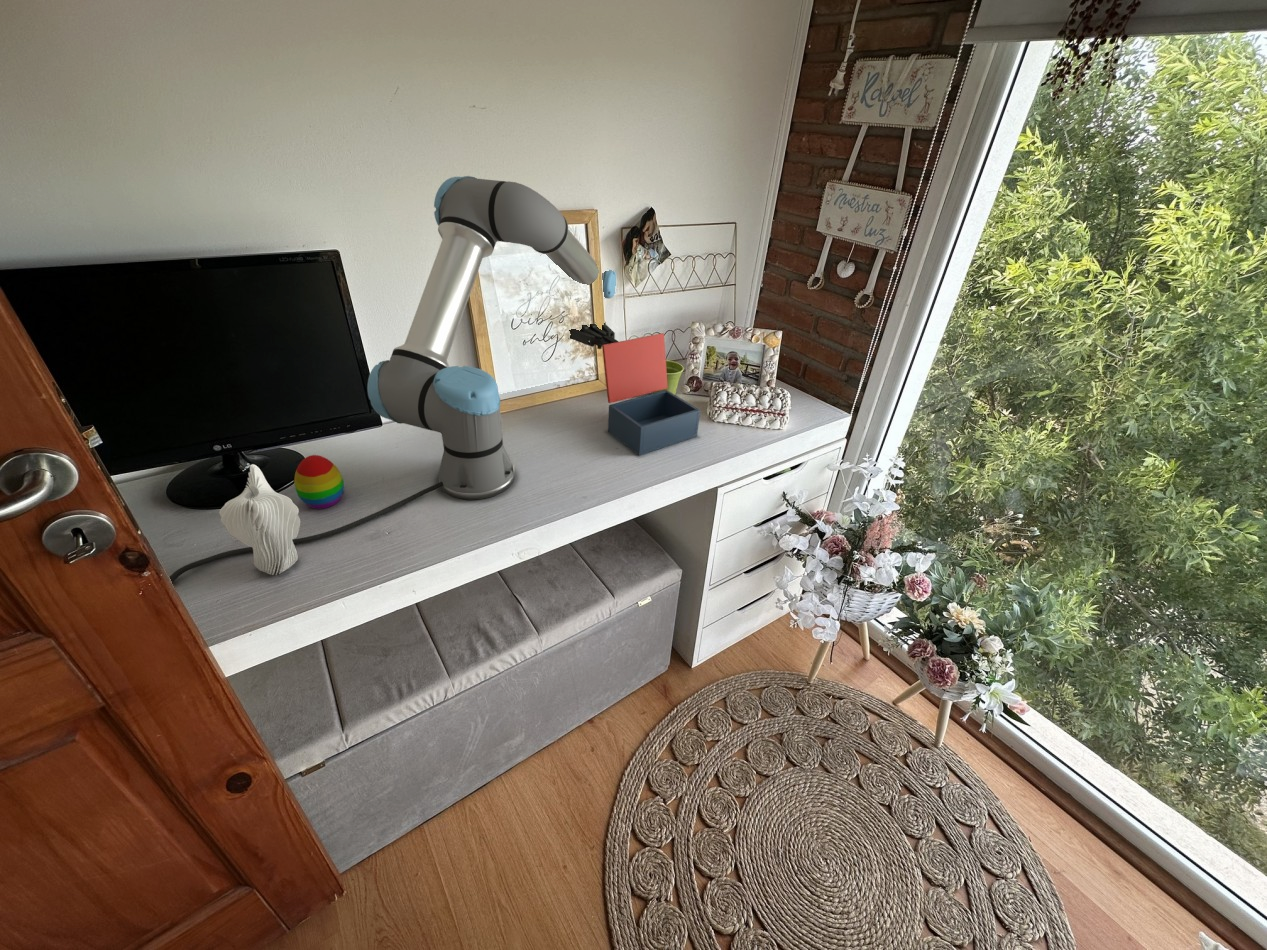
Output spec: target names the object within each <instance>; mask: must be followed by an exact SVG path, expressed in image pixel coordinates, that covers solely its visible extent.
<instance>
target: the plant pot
mask: <svg viewBox="0 0 1267 950" xmlns="http://www.w3.org/2000/svg"><path fill="white" fill-rule="evenodd" d="M684 370H685V367H684V366H683V365H682V364H681V363H679V362H677V361H673V360H668V359H666V371H667V386H668V388H667V389H663V390H659V391H655V392H652V394H653V393H657V392H660V391H664V390H668V391H669V392H671V393H673V394H674V395H676V393H677V388H678V385H679V381H680V378H681V376H682V373H683V372H684Z"/></svg>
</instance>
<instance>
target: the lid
mask: <svg viewBox="0 0 1267 950" xmlns="http://www.w3.org/2000/svg"><path fill="white" fill-rule="evenodd" d="M601 350H602V359H603V368H604V376H605V377H604V379H605V387H606V396H607V403H608V404H614V403H618V402H622V401H626V400H629V399H633V398H637V397H641V396H645V395H649V394H652V393H653V392H655V391H659V390H663V389H667V388H668V386H667V371H666V360H667V358H666V356H667V355H666V342H665V333H663V332H661V333H656V334H650V335H646V336H641V337H636V338H631V339H626V340H619V342H615V343H610V344H605V345H602V349H601Z"/></svg>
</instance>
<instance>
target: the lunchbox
mask: <svg viewBox="0 0 1267 950" xmlns="http://www.w3.org/2000/svg"><path fill="white" fill-rule="evenodd" d="M700 417H701V409H699V408H698V407H695V406H694V405H692V404H691V403H689V402H688V401H686V400H684V399H683V398H681V397H680V396H678V395H676V394H675V395H674V394H673V393H671V392H669V391H668V390H664V391H660V392H657V393H653V392H652V393H648V394H644V395H640V396H637V397H633V398H629V399H625V400H621V401H618V402H614V403H610V404H608V423H607V425H608V426H607V432H608V433H609V434H610V435H612V436H613V437H614V438H616V439H617V440H618V441H619V442H621V443H622V444H623V445H625V446H626V447H627V448H629V450H631V451H632V452H634V453H635V454H636V455H638V456H642V455H645V454H648V453H651V452H655V451H657V450H658V451H659V450H660V449H664V448H668V447H670V446H673V445H676V444H679V443H682V442H685V441H688V440H691V439H694V438H697V437H698V431H699V424H700Z"/></svg>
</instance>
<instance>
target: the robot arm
mask: <svg viewBox="0 0 1267 950" xmlns="http://www.w3.org/2000/svg"><path fill="white" fill-rule="evenodd" d="M433 208H435V211H434V212H433V215H434V219H435V223H436V225H437V226H438V227H437V232H438V234H439V236H440V238H441V242H440V244H439V248H438V251H437V253H436V255H435V259H434V261H433V264H432V267H431V270H430V273H429V276H428V278H427V280H426V283H425V286H424V289H423V292H422V294H421V297H420V300H419V303H418V305H417V308H416V310H415V314H414V316H413V319H412V322H411V325H410V328H409V331H408V333H407V336H406V339H405V342H404V344H401V345H399V346H397V347H394V348H393V350H392V353H391V355H390V358H389V359H386V360H382V361H379V362H378V364H375V365H374V366H373V368H371V371H370V373H369V375H368V379H367V385H366V386H367V387H366V388H367V397H368V400H370V405H371V407H372V409H373V410H374V411H375V412H376V414H378V416H380V417H381V418H384V419H387V420H389V421H392V422H394V423H397V424H404V425H408V426H413V427H416V428H419V429H424V430H429V431H431V432H437V433H439V434H441V439H442V446H443V451H442V456H441V461H440V465H439V470H438V482H437V483H435V484H432V485H431V486H429V487H426V488H424V489H422V490H420V491H418V492H417V493H414V494H412V495H410V496H408V497H406V498H404V499H402V500H399V501H397V502H396V503H393V504H392V505H389V506H387V507H385V508H383V509H380V510H379V511H376V512H373V513H372V514H369V515H367V516H364V517H362V518H360V519H357V520H355V521H353V522H351V523H347V524H345V525H343V526H340V527H337V528H334V529H331V530H328V531H325V532H322V533H318V534H314V535H309V536H303V537H298V538H295V539H292V541H293V544H294V545H300V544H304V543H311V542H314V541H317V540H322V539H325V538H329V537H332V536H335V535H338V534H340V533H344V532H346V531H348V530H352V529H353V528H356V527H358V526H360V525H363V524H365V523H367V522H370V521H372V520H374V519H375V520H376V518H379V517H381V516H383V515H386V514H387V513H390V512H392V511H394V510H396V509H398V508H400V507H402V506H404V505H406V504H408V503H411V502H412V501H414V500H417V499H419V498H421V497H423V496H424V495H427V494H428V493H431V492H433V491H435V490H437V489H439V488H441V490H442V492H444V493H445V494H447V495H449V496H451V497H454V498H457V499H462V500H483V499H488V498H492V497H495V496H497V495H500V494H501V493H504V492H505V491H506V490H508V489H509V488H510V487H511V486H512V485H513V483H514V482H515V481H514V480H515V473H516V472H515V464H514V461H513V460H511V458H510V456H509V454H508V452H507V450H506V448H505V445H504V440H503V427H502V413H501V412H502V411H501V404H502V403H501V401H502V400H501V396H500V392H499V386H498V383H497V381H496V379H495V378H494V377H493V376H492V375H491V374H490V373H488V372H487V371H485V370H484V369H480V368H478V367H477V368H476V367H474V366H469V365H468V366H467V365H463V366H458V365H453V366H450V365H449V362H448V358H449V355H450V353H451V350H452V347H453V344H454V341H455V339H456V335H457V333H458V330H459V328H460V327H459V326H460V324H461V322H462V318H463V315H464V313H465V310H466V307H467V304H468V302H469V298H470V295H471V293H472V289H473V286H474V283H475V281H476V278H477V275H478V272H479V269H480V267H481V264H482V261H483V259H485V258H488V257H490V256H492V254H493V252H494V249H495V247H496V244H497V242H500V243H501V242H502V243H510V244H518V245H523V246H526V247H530V248H532V249H533V250H534V251H535V252H536V253H538V254H541V255H542V254H546V255H547V256H548V257H549V258H550V259H551V260H552V261H553V262H554V263H555V264H556V265H558V266H559V267H560V268H561V269H562V270H563V271H564V272H565V273H566V274H567V275H568V276H569V277H571V278H572V279H573V280H575V281H577V282H579V283H582V284H587V285H590V284H591V283H593V282H594V281H595V280H596V279H597V277H598V273H599V270H598V267H597V264H596V262H597V261H596V260H595V259H594V258H593V256H592V255H591V254H590V253H589V252H588V250H587V249H586V248H585V247H584V246H583V244H582V243H581V242H580V241H579V239H578V238H577V236H575V235H574V234H573V233H572V232H571V230H570V229H569V224H568V221H567V219H566V217H565V216H564V214H562V212H561V211H560V210H559V209H558V208H557V207H556V206H555V205H554V204H553V203H551V202H550V200H548V198H546V197H544V196H543V195H541V194H540V193H539V192H537V191H536V190H534V189H532V188H531V187H529V186H527V185H524V184H522V183H519V182H516V181H511V180H510V181H506V180H496V179H485V178H477V177H475V176H471V175H464V176H452V177H449V178H447V179H446V180H444V181H443V182H442V183H441V184H440V186H439V187H438V189H437V191H436V193H435V197H434V201H433ZM595 261H596V262H595ZM612 270H613V269H609V271H605V272H604V273H602V280H603V292H604V297H605V298H604V299H608V300H609V299H613V297H614V296H615V295H614V294H616V292H615V286H616V274H617V272H616V271H615V270H613V271H612ZM614 271H615V272H616V273H615V272H614ZM596 324H597V323H596ZM596 324H590V327H588V326H587V325H582V329H581V330H580V331H579V330H576V329H571V330H569V331H570V334H571V335H570V339H569V340H572V341H575V342H578V343H580V344H584V345H586V346H588V347H592V348H593V347H595V346H597V348H596V349H598V350H602V345H605V344H610V343H615V342H620V340H617V339H616V334H615V333H616V332H614V330H613V329H611V328H610V326H608V324H607V323H606V321H605V323H604V325H602V330H601V329H599V328H598V327H597V325H596ZM248 553H253V548H252V547H250V546H247V547H241V548H236V549H231V550H227V551H223V552H220V553H216V554H214V555H211V556H208V557H205V558H202V559H199V560H195V561H192V562H190V563H188V564H185V565H183V566H181V567H180V568H178V569H176V570H175V571H174V572H173V573H171V574H170V575H169V577H170V579H171V581H172V584H173V583H174V582H175V581H176V580H177V579H178V578H179V577H180V576H182V575H184V573H187V572H188V571H190V570H193V569H195V568H199V567H201V566H203V565H207V564H209V563H213V562H215V561H218V560H221V559H225V558H229V557H232V556H233V557H234V556H237V555H242V554H248Z"/></svg>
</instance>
